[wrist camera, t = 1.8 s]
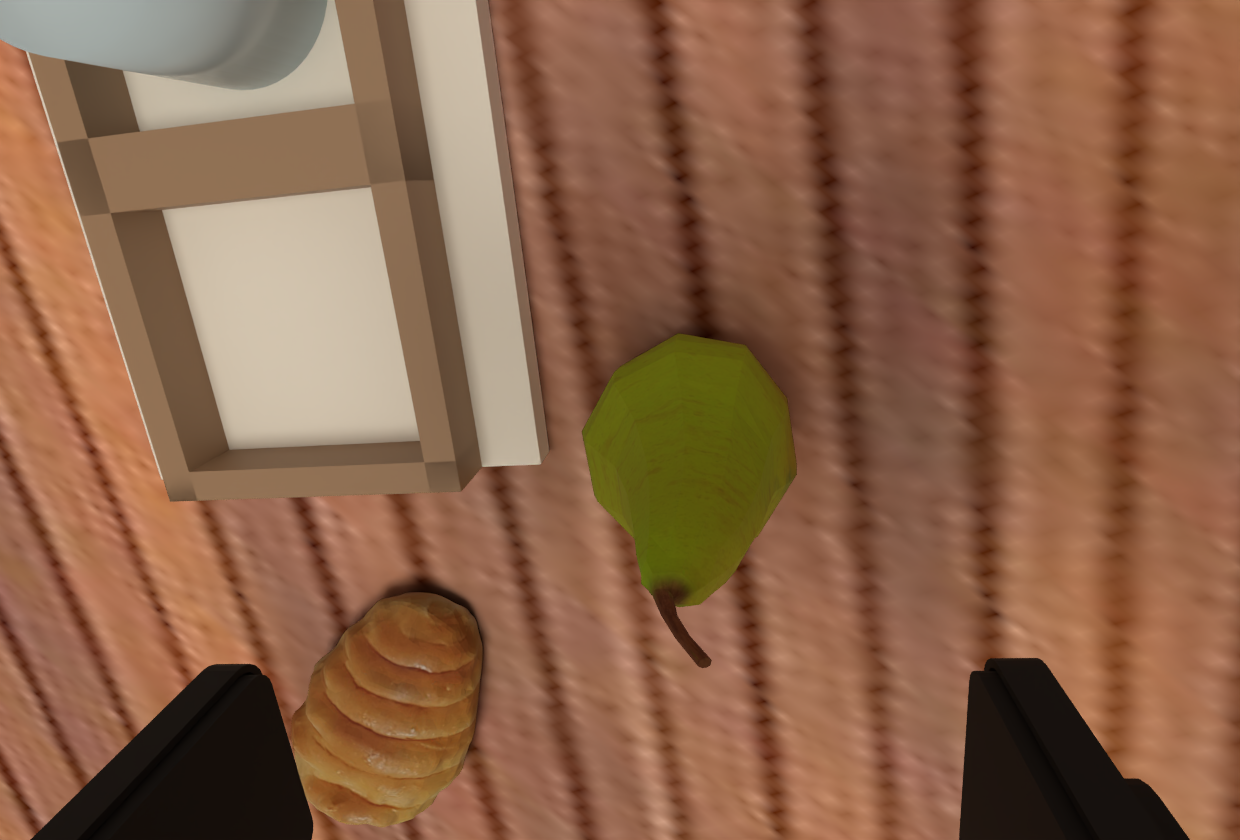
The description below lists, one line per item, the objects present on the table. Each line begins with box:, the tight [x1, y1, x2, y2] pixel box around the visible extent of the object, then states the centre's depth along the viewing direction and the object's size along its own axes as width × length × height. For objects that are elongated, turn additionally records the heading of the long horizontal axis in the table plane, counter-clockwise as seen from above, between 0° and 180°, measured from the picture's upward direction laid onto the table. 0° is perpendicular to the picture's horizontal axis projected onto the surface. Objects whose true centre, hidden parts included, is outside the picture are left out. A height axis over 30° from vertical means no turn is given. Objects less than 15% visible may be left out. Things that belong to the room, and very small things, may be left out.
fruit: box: [582, 333, 797, 668], centre depth 18 cm, size 6×6×12 cm
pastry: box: [291, 592, 483, 827], centre depth 27 cm, size 9×7×4 cm
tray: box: [26, 0, 549, 501], centre depth 21 cm, size 14×20×3 cm
